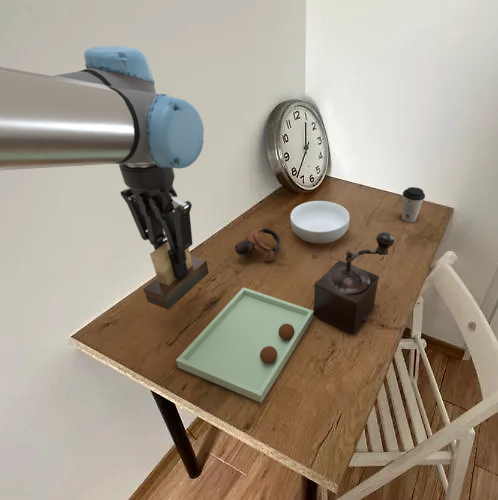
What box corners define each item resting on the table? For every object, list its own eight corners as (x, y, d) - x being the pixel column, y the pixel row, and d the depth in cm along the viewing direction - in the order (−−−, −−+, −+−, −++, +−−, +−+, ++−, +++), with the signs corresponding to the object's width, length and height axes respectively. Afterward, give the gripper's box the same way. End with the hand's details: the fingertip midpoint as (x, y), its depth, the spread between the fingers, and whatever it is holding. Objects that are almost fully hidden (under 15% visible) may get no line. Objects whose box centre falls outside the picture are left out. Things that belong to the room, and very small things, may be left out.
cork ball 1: (260, 352, 64) (254, 358, 66) (274, 364, 64) (267, 369, 66) (270, 340, 66) (263, 346, 68) (283, 351, 66) (276, 357, 68)
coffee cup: (406, 226, 111) (412, 197, 105) (393, 215, 116) (398, 187, 110) (424, 221, 114) (430, 193, 108) (410, 211, 119) (416, 184, 113)
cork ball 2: (282, 331, 68) (272, 334, 70) (293, 341, 69) (283, 344, 71) (289, 318, 71) (279, 322, 72) (300, 328, 72) (290, 332, 73)
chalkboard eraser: (168, 310, 67) (154, 267, 61) (147, 302, 69) (132, 259, 62) (208, 273, 77) (200, 232, 70) (190, 266, 78) (180, 226, 72)
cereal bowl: (305, 215, 112) (305, 195, 108) (355, 228, 108) (357, 207, 104) (280, 243, 99) (279, 222, 95) (335, 258, 95) (337, 237, 91)
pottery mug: (260, 240, 101) (272, 221, 96) (276, 266, 98) (290, 249, 93) (222, 247, 92) (234, 227, 87) (239, 277, 89) (252, 258, 84)
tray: (261, 403, 61) (260, 395, 60) (178, 367, 65) (175, 359, 64) (313, 318, 77) (313, 310, 76) (244, 294, 82) (243, 287, 81)
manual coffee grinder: (355, 337, 74) (365, 271, 63) (312, 315, 78) (313, 249, 67) (386, 295, 85) (399, 232, 74) (346, 277, 89) (353, 216, 78)
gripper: (200, 160, 57) (219, 272, 71) (126, 142, 61) (159, 252, 75) (166, 177, 51) (194, 295, 65) (87, 157, 55) (130, 272, 69)
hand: (175, 272), depth 70 cm, fingers closed on chalkboard eraser, 2 cm apart
